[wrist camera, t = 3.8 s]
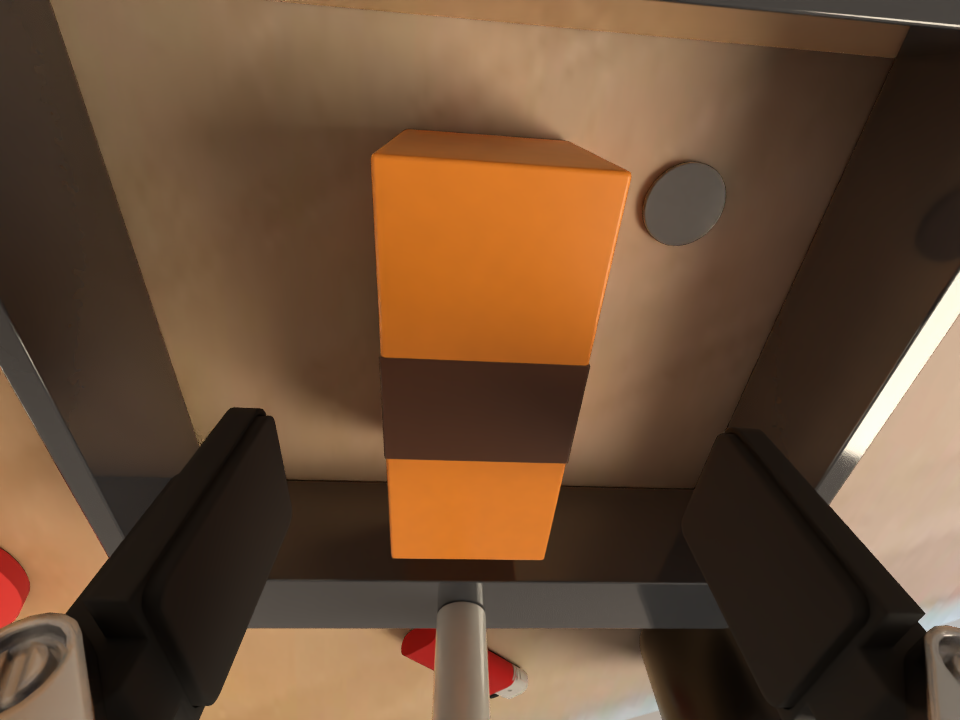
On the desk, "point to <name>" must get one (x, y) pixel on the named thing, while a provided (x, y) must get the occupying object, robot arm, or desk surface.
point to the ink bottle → (701, 676)
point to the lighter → (501, 672)
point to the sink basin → (579, 510)
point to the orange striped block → (486, 331)
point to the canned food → (11, 588)
